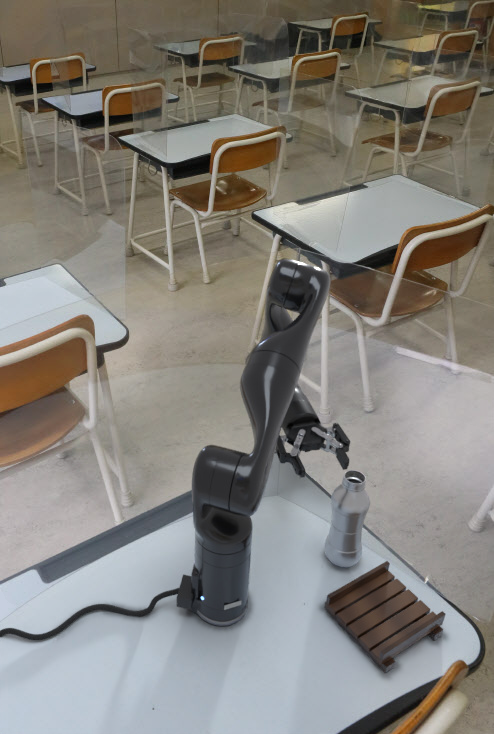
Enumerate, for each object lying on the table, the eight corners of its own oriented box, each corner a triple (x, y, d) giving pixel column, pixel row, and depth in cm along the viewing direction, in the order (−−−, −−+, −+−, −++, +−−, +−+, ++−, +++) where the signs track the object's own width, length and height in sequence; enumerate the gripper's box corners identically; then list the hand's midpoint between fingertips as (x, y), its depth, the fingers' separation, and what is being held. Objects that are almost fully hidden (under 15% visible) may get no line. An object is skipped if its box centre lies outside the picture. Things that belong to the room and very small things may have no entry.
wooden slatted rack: (382, 674, 107) (386, 657, 105) (321, 608, 118) (324, 592, 116) (444, 633, 113) (449, 616, 111) (380, 574, 124) (384, 558, 122)
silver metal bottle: (361, 574, 124) (376, 492, 114) (322, 569, 125) (335, 487, 115) (359, 547, 129) (374, 466, 119) (322, 542, 130) (334, 461, 120)
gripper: (262, 405, 140) (290, 463, 127) (329, 393, 141) (363, 450, 129) (261, 431, 144) (287, 490, 131) (325, 420, 146) (357, 477, 133)
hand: (325, 470), depth 130 cm, fingers open, 8 cm apart
